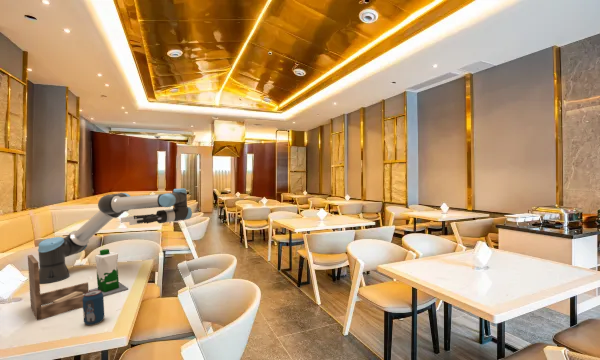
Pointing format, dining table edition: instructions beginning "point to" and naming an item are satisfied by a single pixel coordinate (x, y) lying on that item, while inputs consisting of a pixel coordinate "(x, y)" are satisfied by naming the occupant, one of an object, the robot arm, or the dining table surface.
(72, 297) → the offcut upper
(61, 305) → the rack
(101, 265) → the soya milk
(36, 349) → the dining table surface
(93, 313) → the soda can
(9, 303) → the dining table surface
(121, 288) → the mat
